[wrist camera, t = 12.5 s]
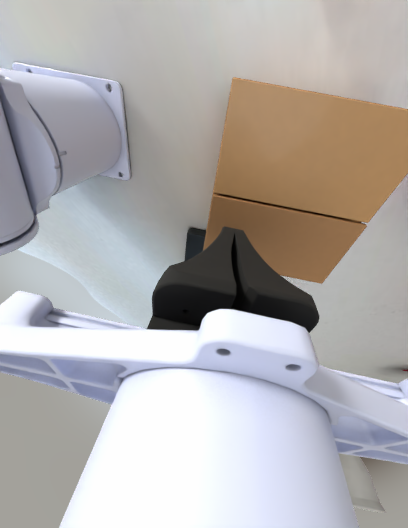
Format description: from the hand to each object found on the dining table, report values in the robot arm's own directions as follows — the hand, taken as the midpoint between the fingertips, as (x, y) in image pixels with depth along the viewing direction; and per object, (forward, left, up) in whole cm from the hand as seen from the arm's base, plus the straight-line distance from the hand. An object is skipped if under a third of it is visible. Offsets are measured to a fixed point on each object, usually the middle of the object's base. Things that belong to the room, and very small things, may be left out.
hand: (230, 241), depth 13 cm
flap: (+4, +5, -3) cm, 7 cm away
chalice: (+39, -49, -11) cm, 63 cm away
